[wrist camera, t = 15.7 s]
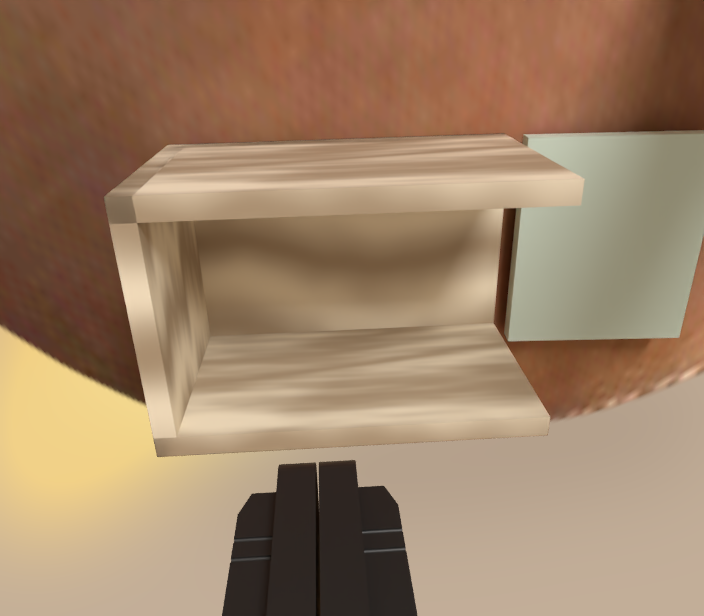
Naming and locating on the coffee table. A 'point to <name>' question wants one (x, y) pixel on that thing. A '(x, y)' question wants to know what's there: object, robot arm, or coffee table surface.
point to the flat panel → (610, 239)
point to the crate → (327, 290)
